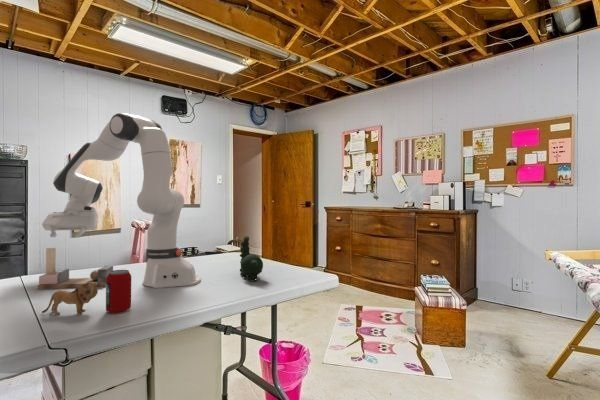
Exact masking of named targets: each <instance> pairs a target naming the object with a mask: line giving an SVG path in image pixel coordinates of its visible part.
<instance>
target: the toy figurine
mask: <svg viewBox="0 0 600 400" xmlns="http://www.w3.org/2000/svg"><path fill="white" fill-rule="evenodd" d="M242 240H243V241H242V242H241V243H240V245H241V247H240V248H239V250H240V251H241V253H240V254H239V257H240V262H239V263H240V268H239V272H240V274H239V275H240V276H241V277H242V278H243V277H244V278H246V279H247V281H249V280H255V279H257V280H258V277H259V275H260V274H261V273H263V268H264V263H263V260H262V258H261V257H260V256H259V255H257V254H251V252H250V250H251V249H250V247H249V246H250V242H249V241H250V237H249V236H248V235H245V236H243V239H242ZM257 275H258V276H257Z"/></svg>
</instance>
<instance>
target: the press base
mask: <svg viewBox="0 0 600 400" xmlns="http://www.w3.org/2000/svg"><path fill="white" fill-rule="evenodd" d="M110 271H114V265H104V266H102V267H100V268H99V269H96V270H93V271H91V272H90V274H89V276H90V277H81V278H80V277H79V278H78V277H77V278H74V277H73V278H69V279H68V280H66V281H64V282H62V283H58V284H39V283H38V284H37V286H36V287H37V290H52V289H54V290H56V289H57V290H58V289H59V290H60V289H76V288H78V287H80V286H82V285H84V284H86V283H87V282H94V283H96V284H97V287H98V288H104V287H105V288H106V278H107V276H108V274H109V272H110Z"/></svg>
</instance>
